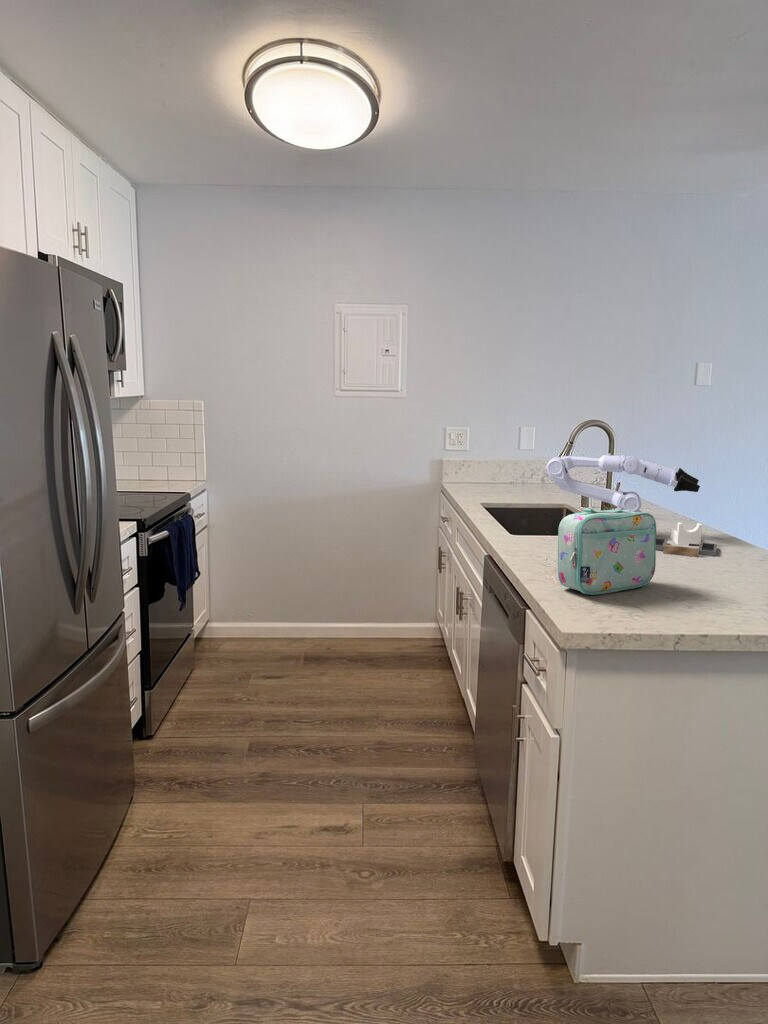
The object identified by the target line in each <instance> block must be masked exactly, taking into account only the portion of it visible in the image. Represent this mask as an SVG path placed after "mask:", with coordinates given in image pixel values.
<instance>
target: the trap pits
mask: <svg viewBox="0 0 768 1024" xmlns="http://www.w3.org/2000/svg"><path fill="white" fill-rule="evenodd" d="M668 542H669V541H668V538H658V537H657V538H656V552H657V551H658V552H659V551H660V552H663V549H664V545H668ZM698 548H699V550H698V556H706V557H707V556H708V557H717V556H716V555H717V549H718V544H717V543H712V542H711V543H709V542H702V541H701V542H700V544H699V546H698Z"/></svg>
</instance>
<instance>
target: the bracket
mask: <svg viewBox="0 0 768 1024" xmlns="http://www.w3.org/2000/svg"><path fill="white" fill-rule="evenodd" d="M702 530H703V524H702V523H699V522H697V524H696V526H695V527H694V528H684V527H683V523H682V522H677V527H675V528H674V527H671V528H670V539H671V540H672V541H673V542H674V543H675V545H676V546H682V547H690V545H700V542H702Z"/></svg>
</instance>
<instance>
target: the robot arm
mask: <svg viewBox="0 0 768 1024" xmlns="http://www.w3.org/2000/svg"><path fill="white" fill-rule="evenodd" d="M575 467H577V468H578V467H579V468H583V467H584V468H599V469H600V470H601V472H611V473H622V472H625V473H626V474H628V475H636V476H640V477H641V478H644V479H647V480H650V481H654V482H656V483H660V484H663V485H665V486H667V487H674V488H673V491H674V492H692V493H698V492H699V490H700V487H701V486H700V485H699V484H698V483H699V479H697V478H696V477H695V476H692V475H690V473H689V474H688V473H687V472H686V471H685V470H683V468H681V467H679V468H678V466H675V465H674V467H673V468H670V467H668V466H665V465H661V464H658V463H655V462H651V461H648V460H645V459H638V457H636V456H633V455H627V456H626V454H622V455H612V453H606V454H603V455H601V456H600V457H599V458H598V457H596V458H595V457H585V456H577V455H576V456H575V455H574V456H573V455H565V456H564V455H563V456H553V457H552V458H550V460H549V461H548V462H547V463H546V472H547V474H548V477H549V479H551V480H552V481H553V482H554V483H555V484H556V485H557V486H558V488H559V489H560V490H562V491H564V492H567V493H572V494H575V495H579V496H583V497H586V498H589V499H593V500H597V501H600V502H603V503H608V504H611V505H614V506H615V507H618V508H620V509H619V510H628V511H632V512H643V511H641V510H640V509H641V507H642V500H641V496H640V494H638V493H637V492H635V491H621V490H614V489H611V488H607V487H603V486H599V485H595V484H592V483H588V482H586V481H581V480H577V479H573V478H572V477H571V475H570V473H569V471H568V470H571V469H573V468H575ZM677 469H678V470H677Z"/></svg>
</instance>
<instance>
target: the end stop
mask: <svg viewBox="0 0 768 1024" xmlns="http://www.w3.org/2000/svg"><path fill="white" fill-rule="evenodd" d="M698 551H699V547H690V546H683V545H671V544H667V545H664V549H663V551H662V554H667V555H677V556H687V557H696V558H698V557H699V555H698Z"/></svg>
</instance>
